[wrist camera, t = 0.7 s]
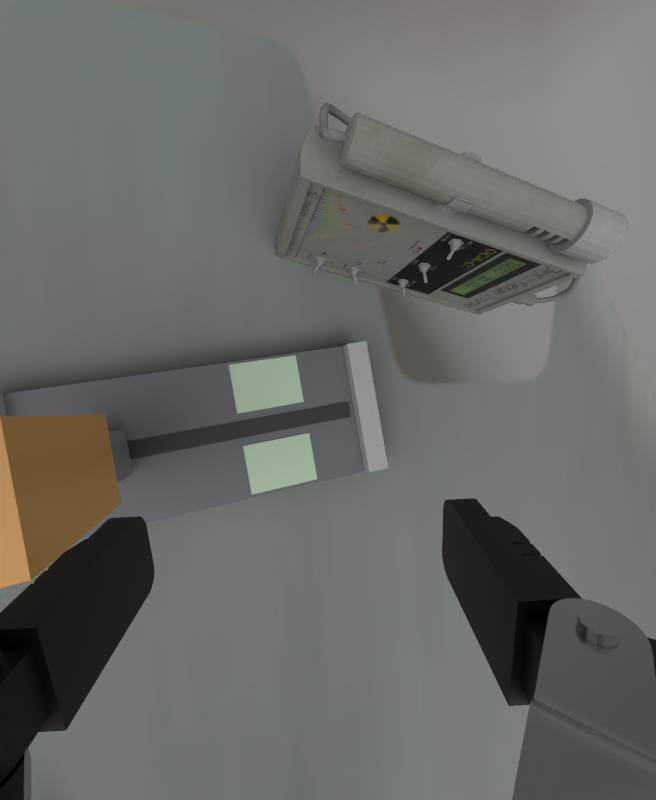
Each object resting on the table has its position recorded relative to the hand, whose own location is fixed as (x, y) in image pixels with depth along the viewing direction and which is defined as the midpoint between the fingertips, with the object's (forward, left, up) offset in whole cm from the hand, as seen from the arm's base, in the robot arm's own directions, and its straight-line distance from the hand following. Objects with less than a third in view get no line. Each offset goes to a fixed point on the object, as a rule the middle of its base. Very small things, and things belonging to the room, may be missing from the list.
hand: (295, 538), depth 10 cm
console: (-4, +1, -20) cm, 20 cm away
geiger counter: (+11, +18, -20) cm, 29 cm away
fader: (-9, -1, -17) cm, 20 cm away
